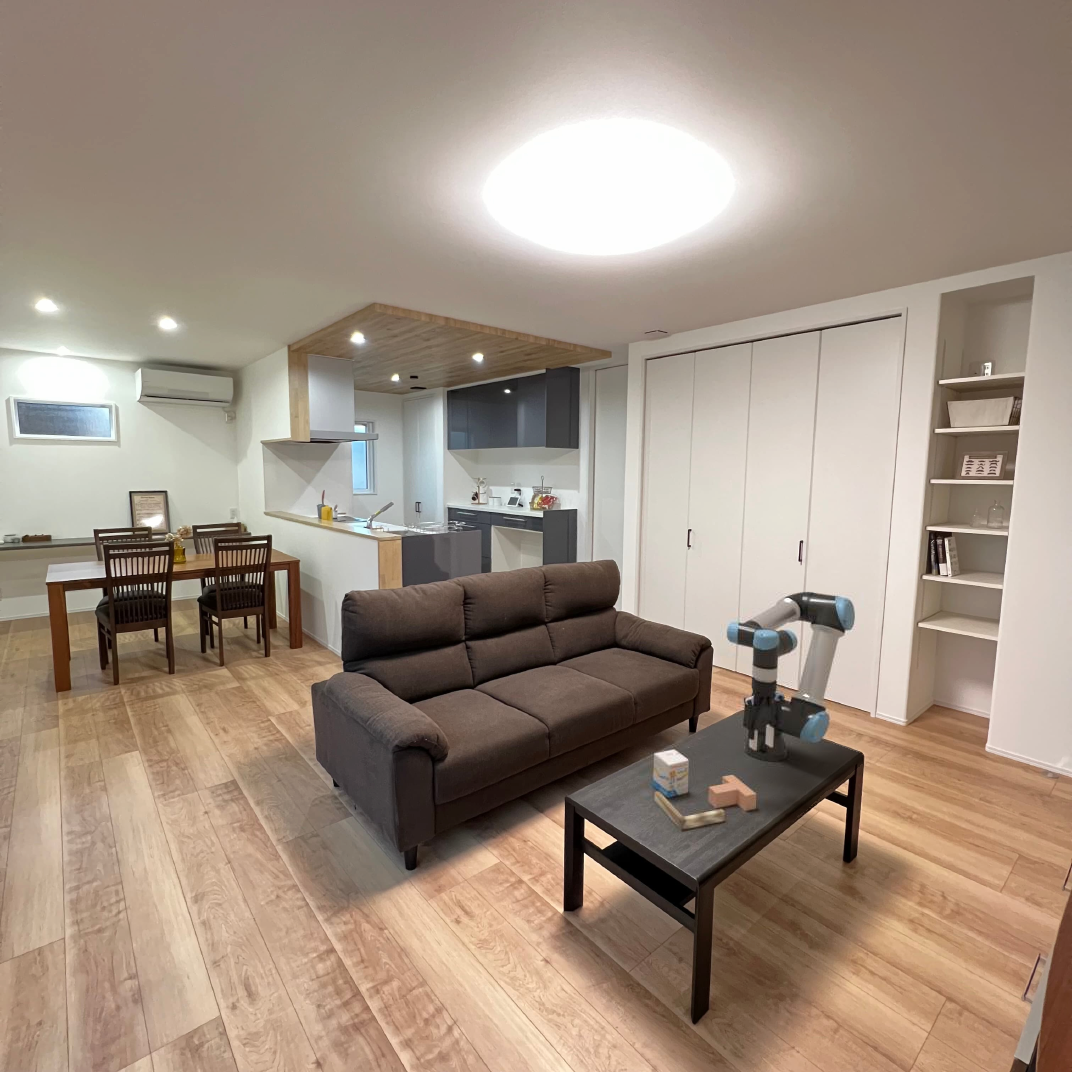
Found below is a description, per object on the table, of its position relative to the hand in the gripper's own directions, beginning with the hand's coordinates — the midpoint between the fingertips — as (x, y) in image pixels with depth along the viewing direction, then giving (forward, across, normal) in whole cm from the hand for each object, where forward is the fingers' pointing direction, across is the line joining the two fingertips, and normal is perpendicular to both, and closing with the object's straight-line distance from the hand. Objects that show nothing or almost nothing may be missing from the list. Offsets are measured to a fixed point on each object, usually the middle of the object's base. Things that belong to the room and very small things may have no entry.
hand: (761, 746), depth 186 cm
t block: (+17, +12, 0) cm, 21 cm away
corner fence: (+17, +27, 0) cm, 32 cm away
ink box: (+17, +26, -12) cm, 33 cm away
